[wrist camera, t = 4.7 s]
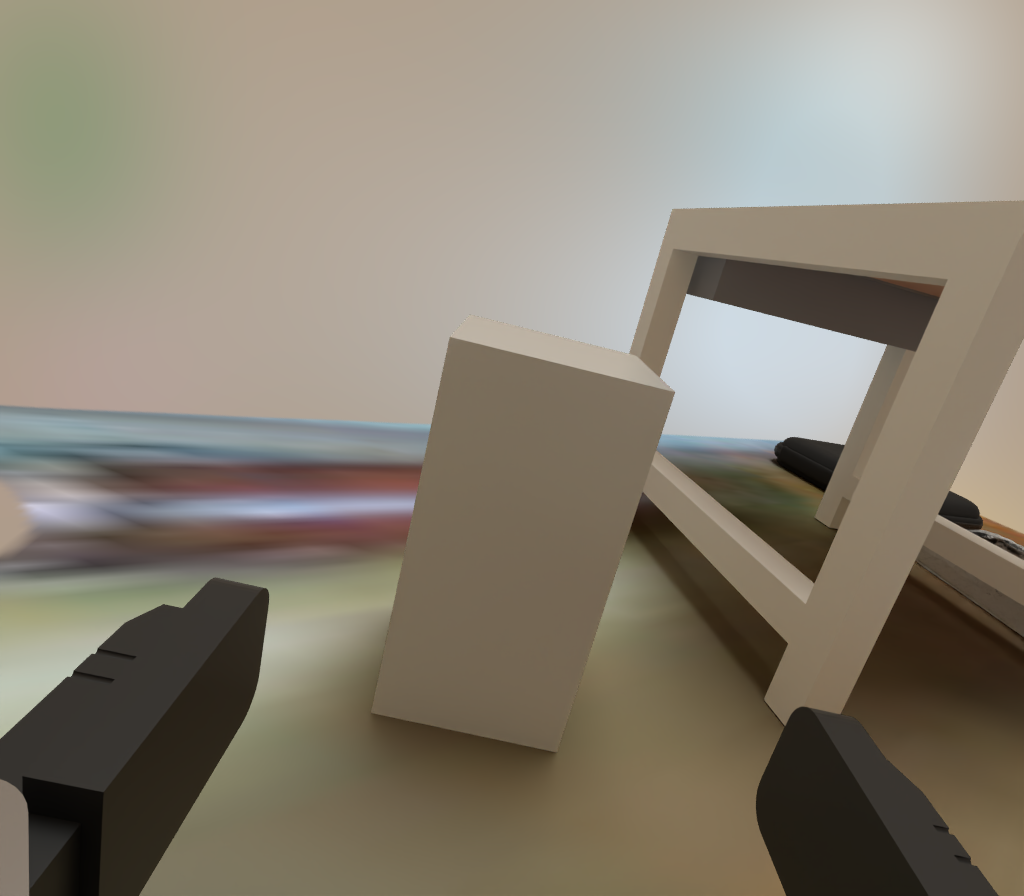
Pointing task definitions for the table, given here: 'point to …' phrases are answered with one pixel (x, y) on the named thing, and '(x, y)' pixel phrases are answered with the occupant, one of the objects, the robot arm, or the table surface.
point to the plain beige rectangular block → (517, 530)
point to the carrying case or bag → (821, 461)
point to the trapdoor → (822, 298)
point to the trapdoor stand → (859, 420)
